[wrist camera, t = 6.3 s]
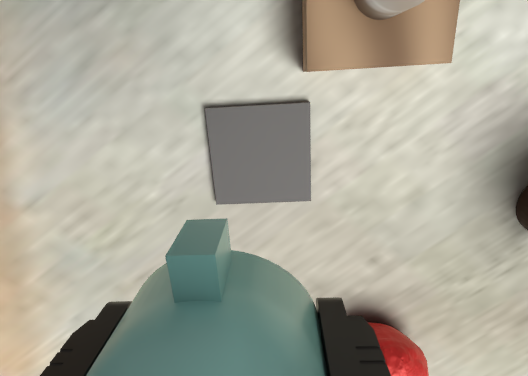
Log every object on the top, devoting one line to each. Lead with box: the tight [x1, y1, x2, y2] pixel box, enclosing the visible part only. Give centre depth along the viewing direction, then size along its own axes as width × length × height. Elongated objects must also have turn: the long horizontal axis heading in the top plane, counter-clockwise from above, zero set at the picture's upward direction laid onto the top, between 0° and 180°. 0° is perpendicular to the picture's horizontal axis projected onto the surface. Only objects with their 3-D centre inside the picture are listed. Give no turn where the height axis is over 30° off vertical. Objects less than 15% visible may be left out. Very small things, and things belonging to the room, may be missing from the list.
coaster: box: [205, 102, 311, 205], centre depth 29 cm, size 9×9×1 cm
